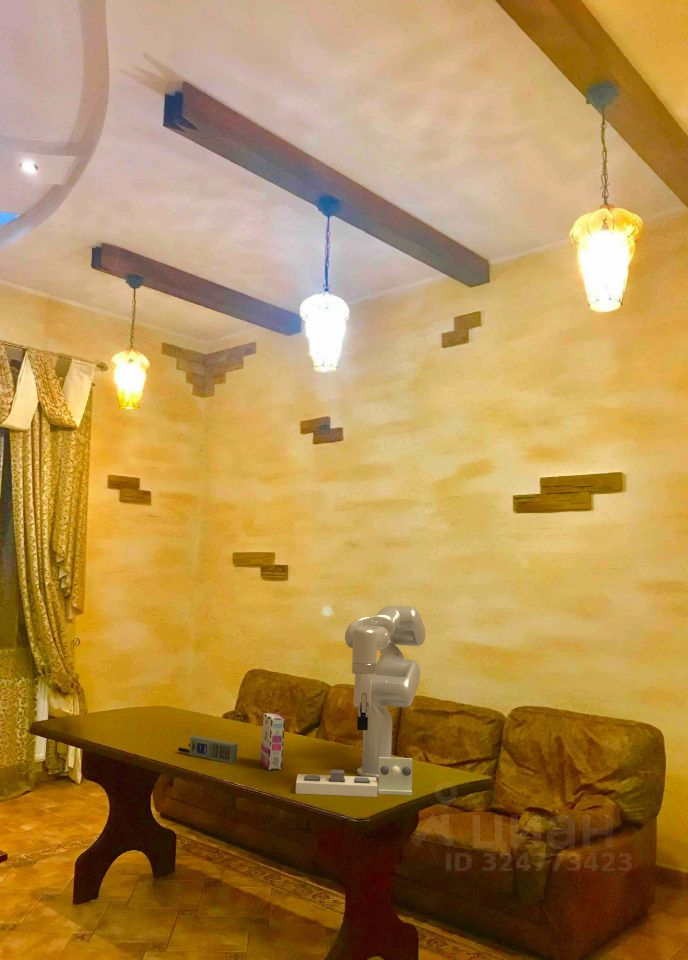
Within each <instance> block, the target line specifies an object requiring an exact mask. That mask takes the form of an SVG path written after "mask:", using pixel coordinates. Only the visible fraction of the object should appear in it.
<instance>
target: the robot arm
mask: <svg viewBox="0 0 688 960" xmlns="http://www.w3.org/2000/svg"><path fill="white" fill-rule="evenodd" d="M425 640H426V628H425V625H424V623H423V619H422V617H421V614H420V613H419V611H418V610H417V609H416V608H415V607H413V606H406V605H405V606H403V605H401V606H399V605H388V606H384V607H383V608H382V609H380V610H379V611H378V612H377V613H376V614H374V615H370V616H369V615H368V616H367V617H362V618H358V619H356V620H353V621H352V622H351V623H350V624H349V625H348V626H347V628H346V630H345V633H344V643H345V644H346V646H348V648H351V649H352V657H351V658H352V659H351V662H352V663H351V674H353V675H354V681H353V682H354V684H353V686H354V687H353V707H354V708H356V709H357V716H356V717H357V718H356V719H357V720H356V721H357V722H356V729H357V730H358V731H363V732H362V750H361V751H362V754H361V758H362V759H361V760H362V761H361V766H360V767H358V768H357V769H356V774H357V775H359V777H376V780H378V778H379V757H391V758H392V743H393V739H392V738H393V735H392V734H393V717H392V715H391V713H390V711H389V710H388V708H387V707H395V708H396V707H397V708H398V707H399V708H406V707H407V708H408V707H410V706H411V705H412V703H413V702H414V699H415V696H416V693H417V689H418V686H419V683H420V679H421V670H420V666H419V665H420V664H419V663H418V662H416V661H415V660H412V659H405V655H403V653H402V651H401V649H400V648H399V647H398V646H407V647H408V646H410V647H419V646H422V645H423V644H424V643H425ZM377 651H379V653H380V655H379V658H378V660H377V655H378V653H377ZM357 707H358V708H357Z"/></svg>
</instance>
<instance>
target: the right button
mask: <svg viewBox="0 0 688 960" xmlns="http://www.w3.org/2000/svg"><path fill="white" fill-rule="evenodd" d="M362 777H363V776H355V783H369V779H368V778H362Z"/></svg>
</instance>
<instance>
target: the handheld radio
mask: <svg viewBox="0 0 688 960" xmlns="http://www.w3.org/2000/svg"><path fill="white" fill-rule="evenodd" d="M189 737H190V738H188V739H189V741H190V743H188V747H189V749H188V748H184V747H178V749H177V750H178V752H182V753H188V754H189V756H192V757H196V758H202V759H206V760H211V761H216V762H221V763H225V764H233V765H234V764H236V763H237V758H238V746H239V744H238V742H237V743H235V742H230V741H226V740H219V739H214V738H210V737H209V738H208V737H203V736H199V735H189Z"/></svg>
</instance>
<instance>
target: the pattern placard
mask: <svg viewBox="0 0 688 960" xmlns="http://www.w3.org/2000/svg"><path fill="white" fill-rule="evenodd" d="M377 780H378V781H377V785H378V792H377V795H393V796H394V795H395V796H397V795H398V796H413V789H412V788H413V758H412V757H410V758H407V757H392V756H391V757H379V778H378V779H377Z"/></svg>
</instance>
